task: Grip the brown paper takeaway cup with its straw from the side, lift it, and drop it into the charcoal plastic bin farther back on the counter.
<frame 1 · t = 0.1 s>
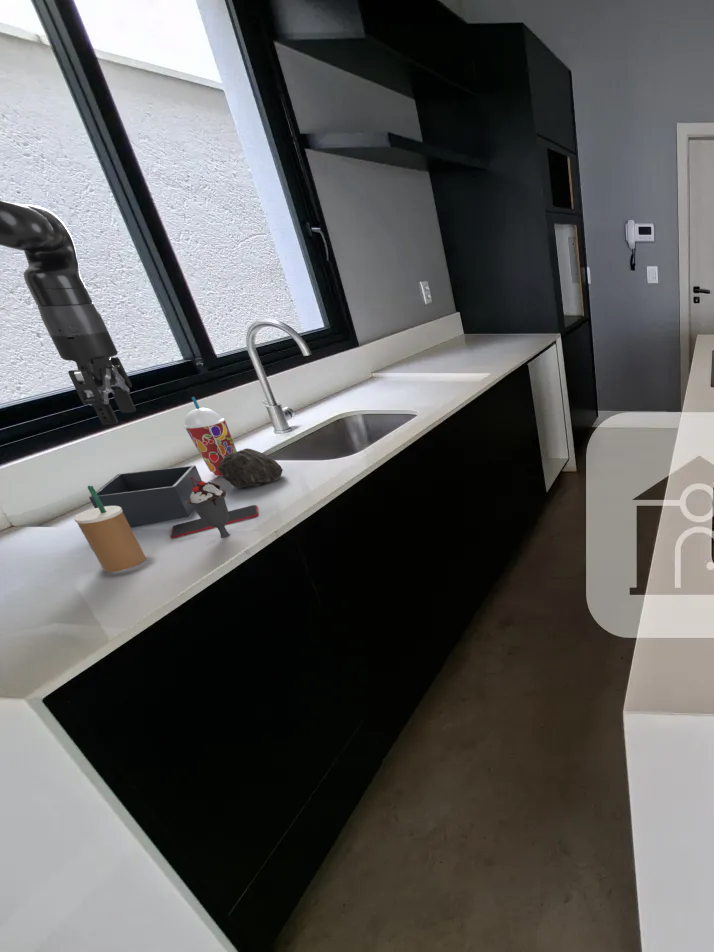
hand: (120, 418, 109), 25 cm above the countertop, tool pointing down, fingers open, 8 cm apart
smoothie: (228, 472, 149), on the countertop
bin: (160, 510, 128), on the countertop
smartphone: (217, 524, 122), on the countertop
rock: (258, 485, 142), on the countertop
sundae: (228, 542, 116), on the countertop
takeaway cup: (126, 566, 107), on the countertop
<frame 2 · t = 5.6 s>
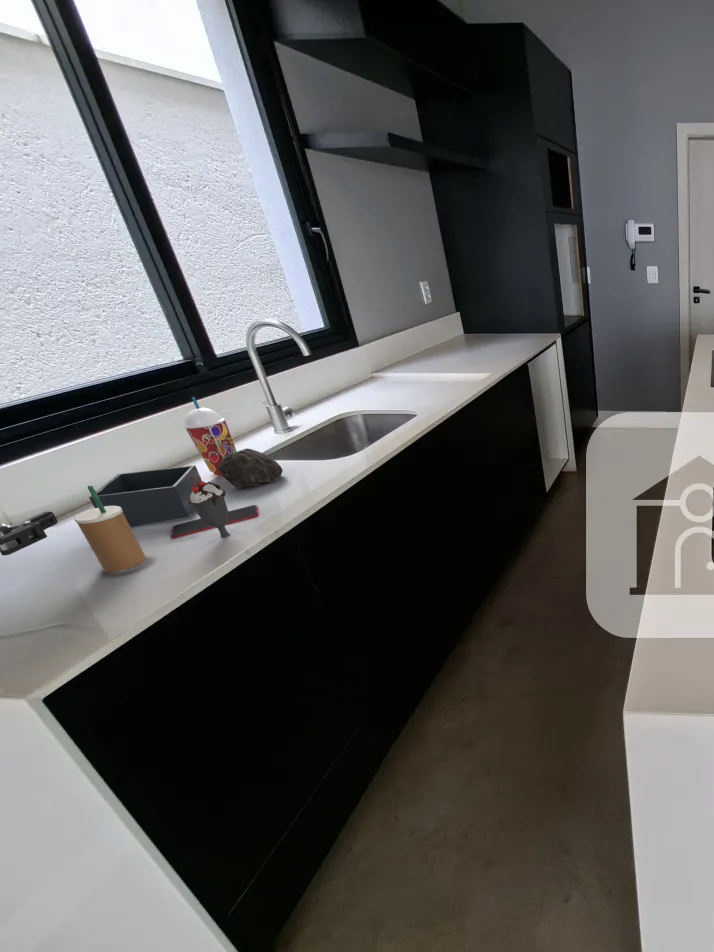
hand: (24, 517, 90), 16 cm above the countertop, tool horizontal, fingers open, 8 cm apart
nothing on the countertop moved.
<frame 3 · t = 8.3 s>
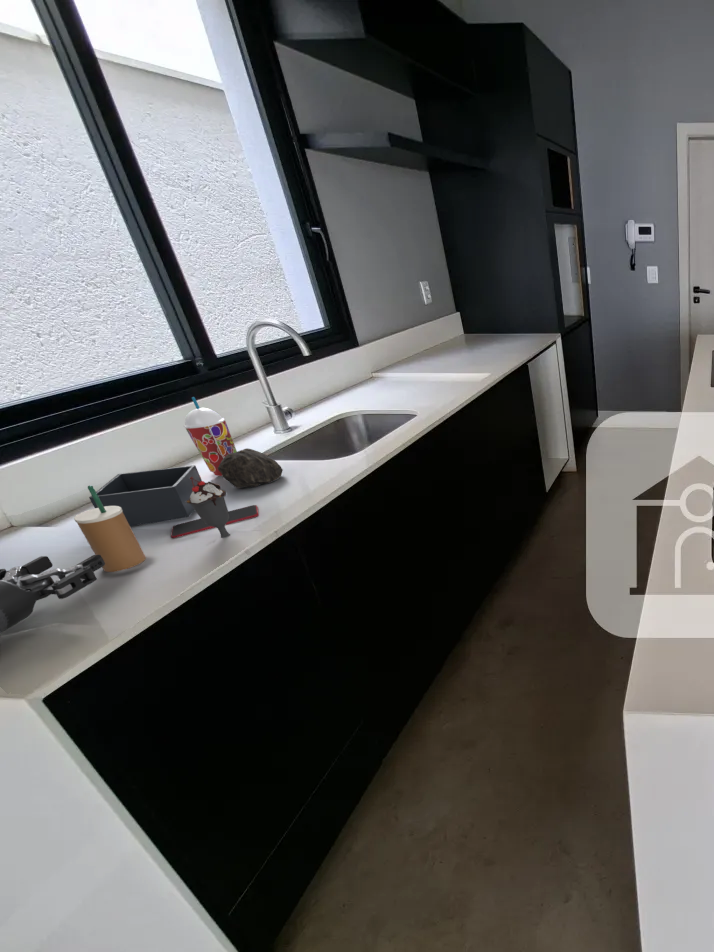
hand: (74, 559, 97), 6 cm above the countertop, tool horizontal, fingers open, 8 cm apart
nothing on the countertop moved.
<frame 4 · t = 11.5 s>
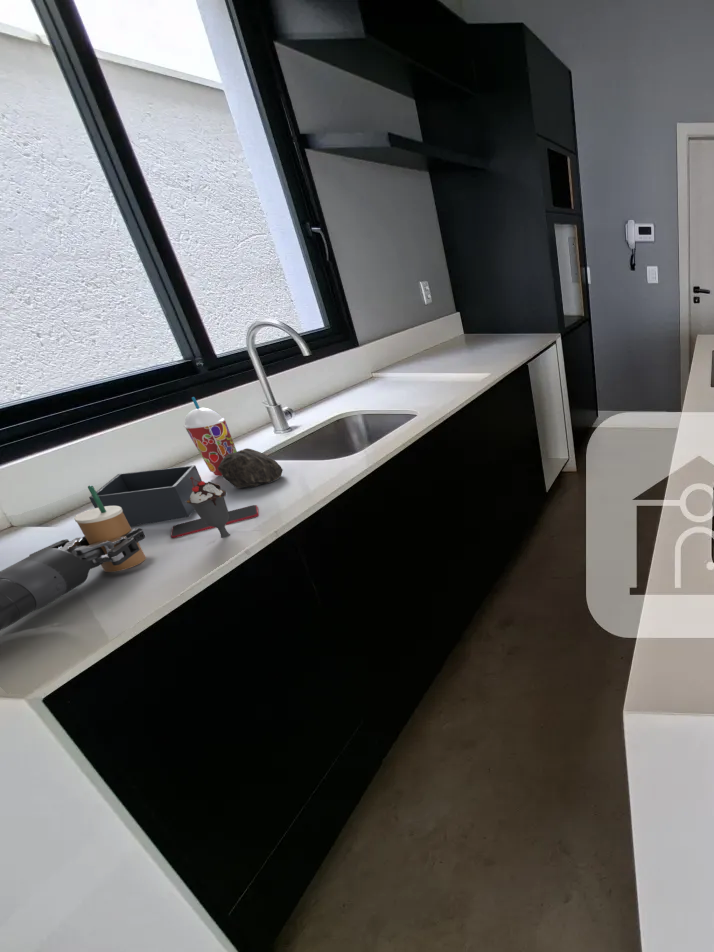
hand: (122, 532, 106), 6 cm above the countertop, tool horizontal, fingers closed on takeaway cup, 6 cm apart
takeaway cup: (126, 566, 107), on the countertop, touching gripper
everything else where it was.
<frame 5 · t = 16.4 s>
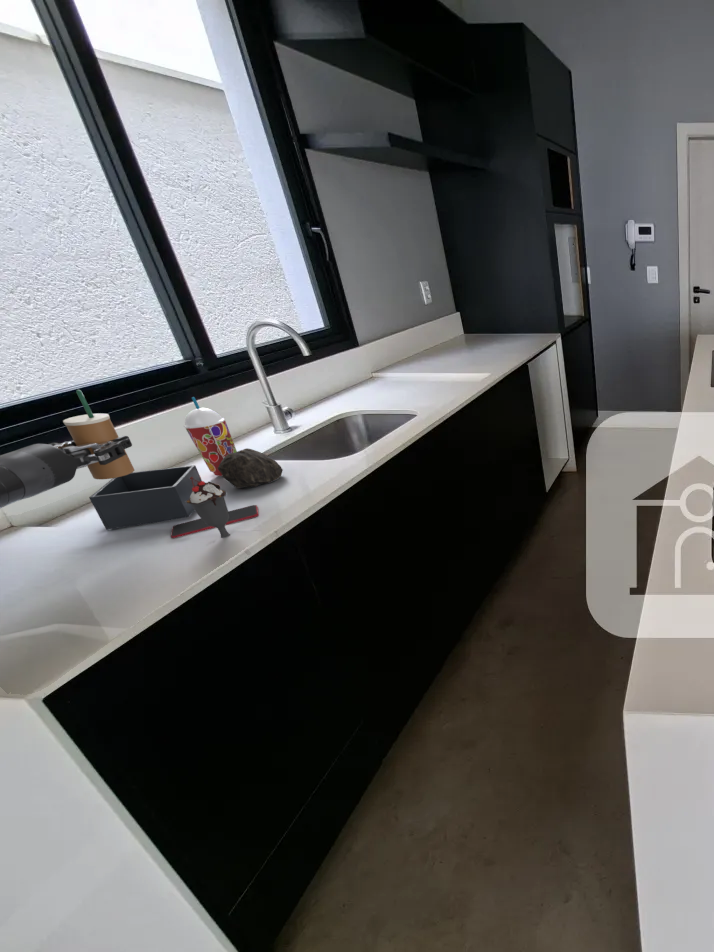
hand: (110, 441, 111), 20 cm above the countertop, tool horizontal, fingers closed on takeaway cup, 6 cm apart
takeaway cup: (114, 473, 111), point 14 cm above the countertop, touching gripper
everything else where it was.
when the fingers open (12 cm above the countertop, at t = 21.6 s): takeaway cup drops 5 cm, resting on bin.
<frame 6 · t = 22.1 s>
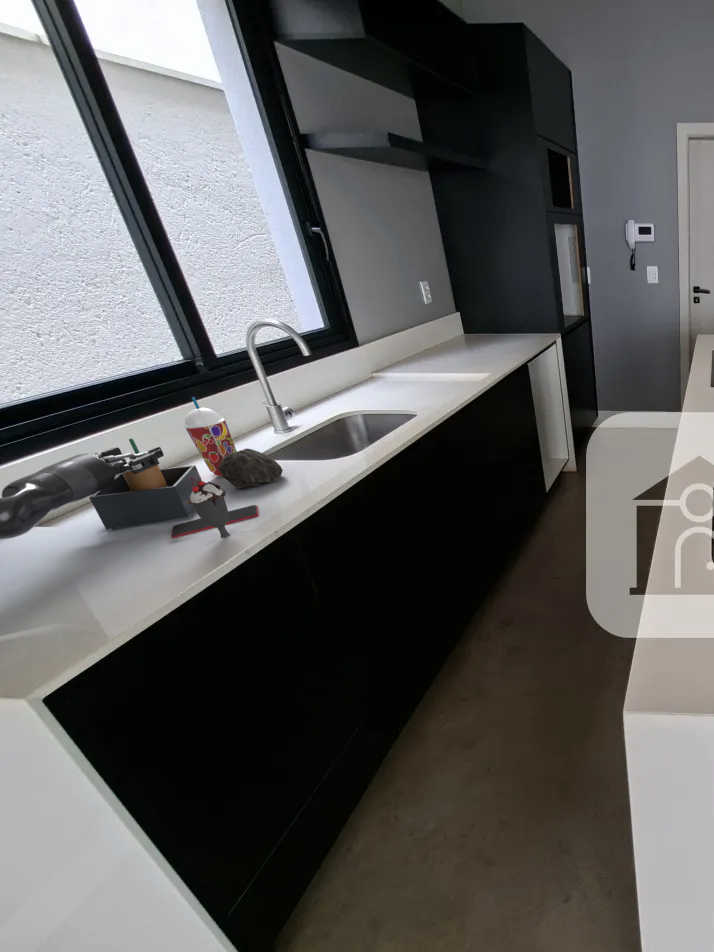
hand: (139, 451, 124), 14 cm above the countertop, tool horizontal, fingers open, 8 cm apart
takeaway cup: (159, 508, 128), point 1 cm above the countertop, touching bin
everything else where it was.
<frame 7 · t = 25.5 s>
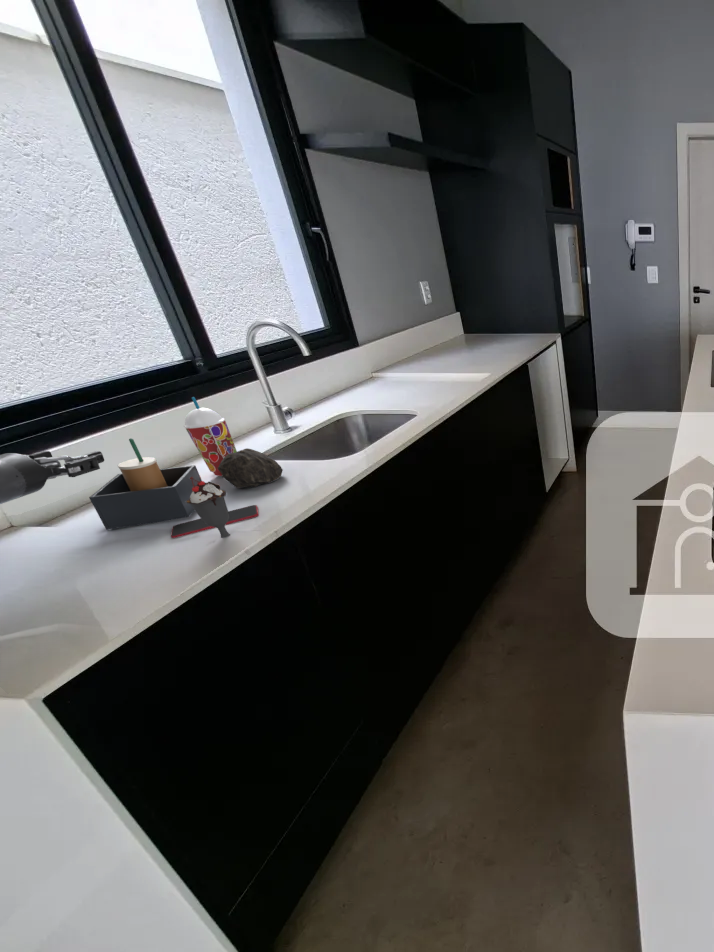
hand: (75, 456, 111), 17 cm above the countertop, tool horizontal, fingers open, 8 cm apart
nothing on the countertop moved.
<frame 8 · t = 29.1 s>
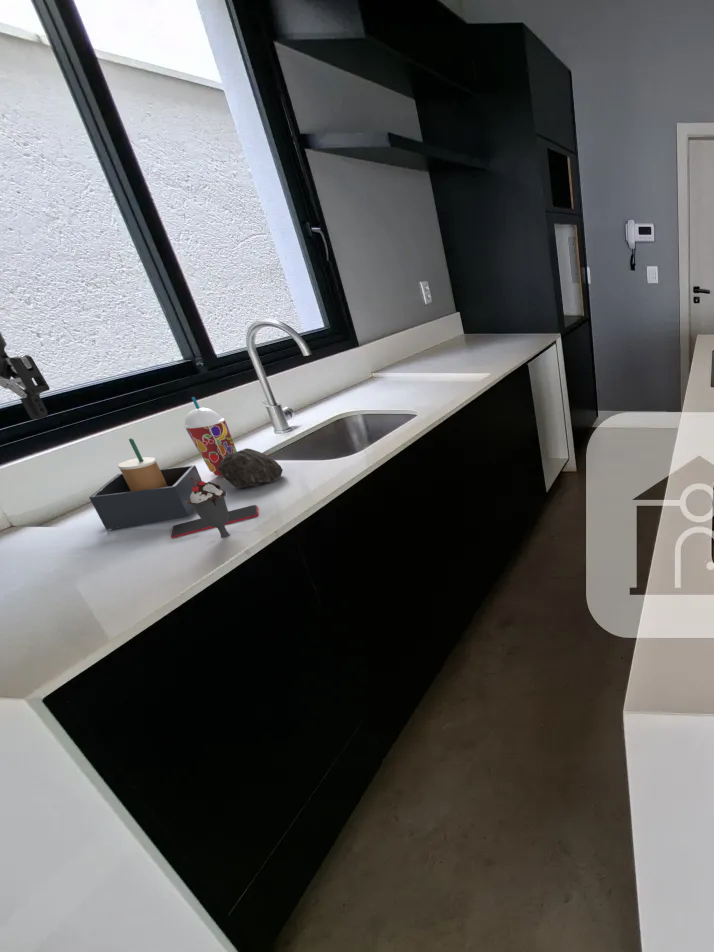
hand: (13, 418, 96), 28 cm above the countertop, tool pointing down, fingers open, 8 cm apart
nothing on the countertop moved.
at the end: takeaway cup inside the target area in the bin (0.2 cm from its centre), point 0.6 cm above the bin's base; the gripper is holding nothing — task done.
